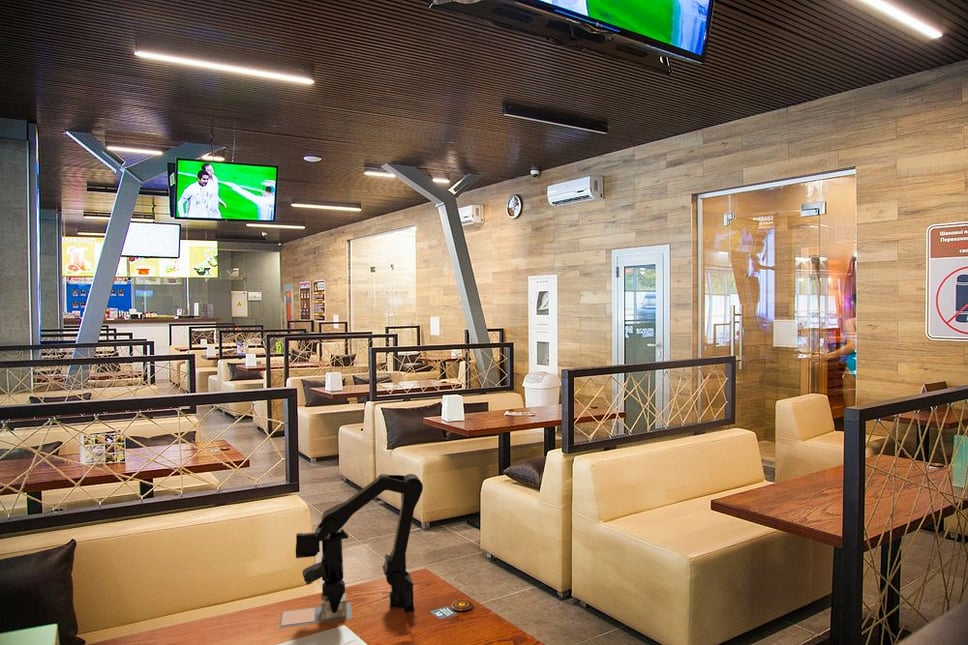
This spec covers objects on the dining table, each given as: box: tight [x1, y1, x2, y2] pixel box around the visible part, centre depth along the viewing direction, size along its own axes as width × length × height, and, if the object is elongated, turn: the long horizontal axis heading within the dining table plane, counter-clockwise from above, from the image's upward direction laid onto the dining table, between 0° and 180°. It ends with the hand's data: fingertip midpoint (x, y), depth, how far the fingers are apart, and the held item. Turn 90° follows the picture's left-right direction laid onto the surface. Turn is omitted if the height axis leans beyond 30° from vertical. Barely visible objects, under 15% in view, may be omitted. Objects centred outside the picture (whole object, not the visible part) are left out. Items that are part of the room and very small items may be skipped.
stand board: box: [279, 602, 353, 629], centre depth 193 cm, size 20×11×6 cm, turn 104°
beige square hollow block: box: [320, 591, 347, 619], centre depth 194 cm, size 7×7×4 cm
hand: (334, 607), depth 194 cm, fingers closed on beige square hollow block, 7 cm apart
